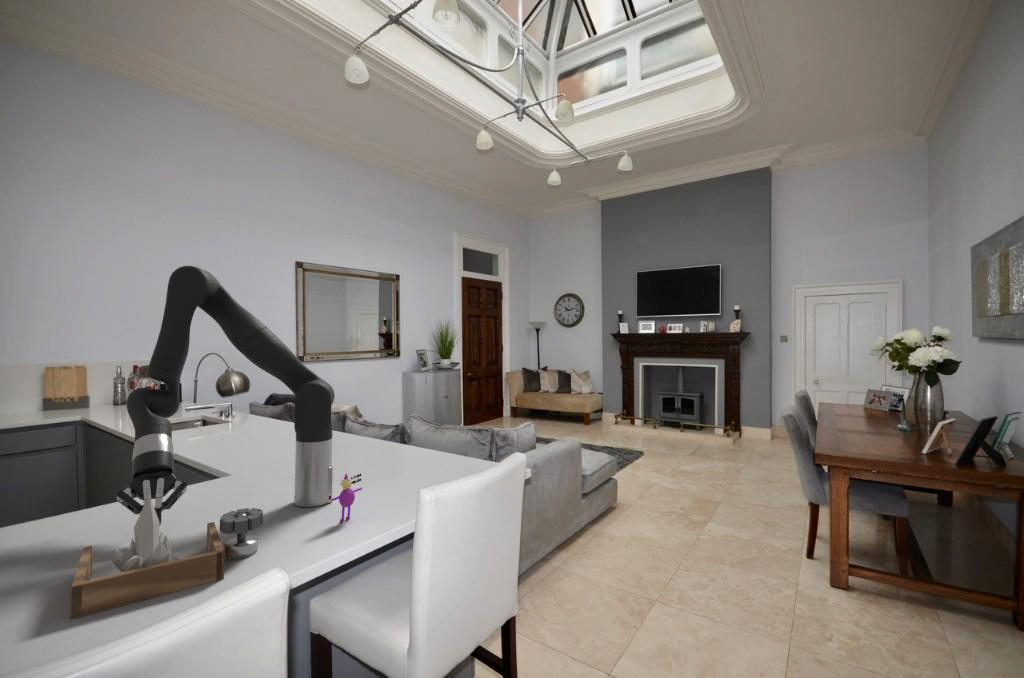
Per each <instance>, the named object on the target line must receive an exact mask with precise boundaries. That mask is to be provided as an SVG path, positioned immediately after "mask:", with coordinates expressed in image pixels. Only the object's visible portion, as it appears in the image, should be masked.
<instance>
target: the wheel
mask: <svg viewBox="0 0 1024 678" xmlns="http://www.w3.org/2000/svg"><path fill="white" fill-rule="evenodd" d="M240 513H247V516H246V517H241V518H238V514H240ZM219 517H220V518H219V532H221V534H225V535H232V534H234V535H237V534H240V533H246V534H247V533H248V531H249V532H254V531H255V530H257V529H259V528H261V527H262V526H263V525H264V524H263V523H264V510H263V509H261V508H257V507H252V508H249V507H247V508H246V507H245V508H240V509H238V508H237V509H236V510H231V511H228V512H226V513H224V514H222V515H220V516H219Z"/></svg>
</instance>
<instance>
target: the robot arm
mask: <svg viewBox="0 0 1024 678" xmlns="http://www.w3.org/2000/svg"><path fill="white" fill-rule="evenodd" d="M165 299H166V300H165V305H164V311H163V317H162V321H161V325H160V329H159V332H158V338H157V340H156V342H155V347H154V349H153V352H152V355H151V357H150V361H149V364H148V367H147V370H146V375H147V377H148V378H150V379H152V380H156V381H158V382H161V383H163V384H165V385H164V386H165V389H160V388H159V389H158V388H151V387H138V388H134V389H133V390H131V392H130V393H129V394H128V395H127V398H126V410H127V414H128V415H129V418H130V421H131V423H132V425H133V428H134V446H133V449H132V450H133V451H132V458H131V461H132V466H131V467H132V468H131V481H130V482H129V484H128V487H126V488H125V489H124V490H118V491H117V492H116V501H117V502H118V503H120V505H122V506H123V507H124V508H126V509H127V510H129V511H130V512H131V513H133V514H134V515H140V513H141V511H142V509H143V507H144V505H145V502H146V500H147V498H148V496H150V498H151V500H155V501H154V509H155V511H156V514H157V517H158V519H159V522H160V524H159V527H160V526H161V524H162V512H163V511H165V510H170V509H171V508H172V507H173V506H174V505H175V504H176V502H177V501H178V500H179V499H180V498H181V497H182V495H184V493H186V491H187V490H188V489H187V488H188V482H187V481H180V480H177V479H178V478H177V476H176V475H175V463H174V462H175V460H174V455H175V454H174V445H173V444H174V443H173V434H172V433H173V432H172V431H173V428H172V427H173V426H172V425H173V424H172V422H171V421H170V420H169V419H168V418H170V417H171V418H172V417H173V416H174V415H175V414H176V413H177V412H178V410H179V409H180V404H181V403H180V402H181V398H180V397H181V396H180V385H181V379H182V378H181V377H182V373H183V370H184V366H185V364H186V361H187V358H188V355H189V349H190V341H191V340H190V339H191V337H190V336H191V325H192V321H193V317H194V314H195V312H196V311H197V308H199V309H201V310H202V311H203V312H205V313H206V314H207V315H208V316H209V317H210V318H211V319H213V320H214V321H215V323H217V325H218V326H219V327H220V328H221V330H222V331H223V333H224V335H225V336H226V338H227V339H228V341H230V343H231V345H233V346H234V348H235V349H236V350H237V351H238V352H240V353H241V354H242V355H243V356H244V357H245V358H246V359H247V360H248V361H250V362H251V363H252V364H253V365H255V366H256V367H258V368H259V369H260V370H262V371H264V372H266V373H267V374H269V375H271V376H273V377H274V378H276V379H278V381H280V382H281V383H283V385H285V386H286V387H287V388H288V389H289V390H290V391H291V392H292V394H294V395H295V396H294V412H293V413H294V414H293V415H294V418H293V419H294V424H293V425H294V431H295V453H294V454H295V456H294V457H295V458H294V462H295V463H294V464H295V465H294V494H293V496H294V500H293V502H294V503H293V504H294V505H295V506H297V507H300V508H312V507H319V506H323V505H326V504H328V500H329V494H331V499H333V483H334V482H333V478H334V476H333V474H334V473H333V471H334V469H333V461H332V460H333V427H332V405H333V403H334V401H335V397H336V396H335V391H334V388H333V386H332V385H331V384H330V383H328V382H327V381H326V380H325V379H323V378H322V377H321V376H319V375H318V374H316V373H315V372H314V371H313V370H311V369H310V368H309V367H308V366H306V365H305V364H304V363H303V362H302V361H301V360H300V359H299V358H298V357H297V356H296V354H294V352H293V351H292V350H291V349H290V348H289V347H288V346H287V345H286V344H285V343H284V342H283V341H282V340H281V339H280V338H279V336H277V335H276V334H275V333H274V332H273V331H272V330H271V329H270V328H269V327H268V326H266V324H264V323H263V322H262V321H261V320H259V319H258V318H257V317H256V316H255V315H254V314H252V313H251V312H250V311H249V310H248V309H246V308H245V307H243V306H242V305H241V304H239V302H237V300H236V299H235V298H234V297H233V296H232V295H231V294H230V293H229V291H228V290H226V288H225V287H224V286H223V285H222V284H221V282H220V281H219V280H218V278H217V277H215V276H214V274H212V273H211V272H208V271H207V270H206V269H202V268H200V267H197V266H194V265H183V266H179V267H178V268H175V270H174V271H173V272H171V274H170V276H169V279H168V284H167V290H166V297H165ZM172 489H173V492H172V493H171V494H170V495H169V496H168V497H167V498H166V499H165V500H164V501H163V498H164V497H166V496H167V495H168V493H169V492H170V491H171V490H172ZM132 494H133V495H134V496H136V497H137V498H138V499H139V500H141V501H142V502H143V504H141V503H139V502H138V501H137V500H136V499H134V498H133V496H132Z"/></svg>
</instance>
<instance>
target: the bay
mask: <svg viewBox="0 0 1024 678" xmlns="http://www.w3.org/2000/svg"><path fill="white" fill-rule="evenodd" d="M206 525H207V526H206V527H207V529H206V548H207V549H206V550H207V552H206V553H205V552H204V553H201V554H197V555H193V556H188V557H184V558H179V560H174V561H170V562H166V563H161V564H157V565H153V566H148V567H144V568H140V569H135V570H131V571H126V572H119V573H115V574H110V575H106V576H101V577H97V578H92V579H91V577H92V573H93V545H89V546H84V547H83V549H82V552H81V555H80V559H79V562H78V565H77V569H76V572H75V575H74V578H73V581H72V585H71V593H70V595H71V598H70V600H71V601H70V620H73V619H76V618H80V617H84V616H88V615H91V614H95V613H100V612H103V611H107V610H111V609H115V608H117V607H118V608H119V607H121V606H126V605H130V604H134V603H137V602H142V601H144V600H149V599H152V598H156V597H160V596H164V595H167V594H171V593H175V592H179V591H183V590H187V589H190V588H193V587H198V586H201V585H205V584H209V583H213V582H217V581H221V580H224V578H225V558H224V556H225V551H224V545H223V543H222V541H221V537H220V534H219V532H218V529H217V526H216V524H215V522H214V521H212V522H208V523H207V524H206Z"/></svg>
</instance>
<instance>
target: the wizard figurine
mask: <svg viewBox="0 0 1024 678" xmlns="http://www.w3.org/2000/svg"><path fill="white" fill-rule="evenodd" d="M359 477H362V473H359V474H356V475H353V476H351V477H349V476H348V474H347V472H345V475H344V477H343V478H342V479H340V481H341V483H340V486H342V490H341V492H340V494H339V496H336V497H332V499H331V494H329V500H328V503H329V504H330V503H333V502H334V501H336V500H338V502H339V504H340V506H341V518H340V519H339V522H341V523H343V522H345V519H346V520H350V519H351V506H352V505H353V504H354V501H355V500H356V499H355V498H356V495H355V493H356V492H359V491H363V489H364V487H363V486H360V487H359V488H356V489H354V490H353V489H352V488H351V486H352V485H354V484H356V483H359V482H361V481H362V478H359ZM357 478H358V479H357ZM355 479H356V480H355ZM328 503H327V504H328ZM346 508H347V516H346V517H345V511H346V510H345V509H346Z"/></svg>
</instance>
